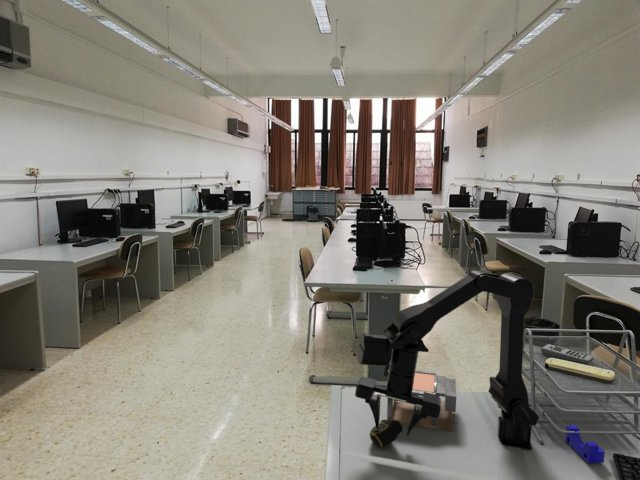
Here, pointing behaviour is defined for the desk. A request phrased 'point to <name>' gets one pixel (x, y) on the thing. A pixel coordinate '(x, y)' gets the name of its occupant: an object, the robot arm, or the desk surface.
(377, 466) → the desk surface
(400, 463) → the desk surface
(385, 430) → the tape measure
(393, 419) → the framed copper bin
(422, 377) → the trapdoor
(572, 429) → the cable holder
